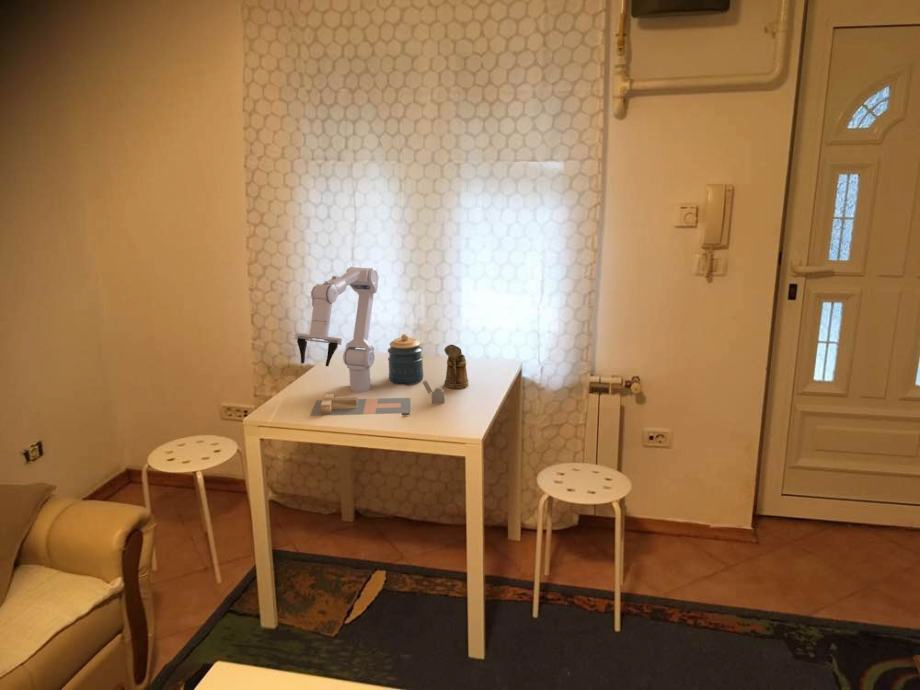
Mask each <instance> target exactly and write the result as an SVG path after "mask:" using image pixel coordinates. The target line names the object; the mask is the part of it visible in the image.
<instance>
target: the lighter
mask: <svg viewBox="0 0 920 690" xmlns="http://www.w3.org/2000/svg"><path fill="white" fill-rule="evenodd" d="M422 385H423V386H424V389H425V390H426V391H427V393H428V394H431V404H433V405H436V404H445V389H442V387H435V388H434V389H432V388H431V386H430V384H429V383H428V381H427V380H424V381H422Z"/></svg>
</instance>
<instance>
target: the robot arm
mask: <svg viewBox="0 0 920 690" xmlns="http://www.w3.org/2000/svg"><path fill="white" fill-rule="evenodd" d="M379 278H380V277H379V273H378V272H377V269H376V268H375V267H371V268H370V267H369V268H368V267H354V266H349V268H346V272H345V273H343V275H341V276H338V275H333V276H331V279H329V280H326V281H324V283H322V284H319V283H317V284H316V285H314V286H313V287H312V290H311V291H310V297H311V307H312V313H311V322H310V328H309V334H308V333H298V332H294V340H296V342H297V346H298V350H299V353H300V364H302V365H303V364H304V365H305V361H306V351H307V345H308V342H313V343H314V342H315V343H316V342H317V343H323V344H327V356H326V361H325V367H329V365H330V363H331V359H332V358H333V355H334V354H335V352H336V350H337V349H338V345H339V346H341V345H342V340H343V339H342V338H341V337H333V336H329V330H330V323H331V314H332V307H333V304H334V303H335V302H336V300H337V298H338V297H339V296H340V295H341V294H343V293H345V291H346V290H347V287H348V286H349V287H350V288H351V289H352V290H353V291H354V292H355V293H357V295H358V300H357V309H356V316H355V323H354V329H353V330H354V331H353V339H351V340H350V341H349V342H347V343H346V344H345V350H344V352H343V355H342V361H343V363H344V365H345V366H346V368H347V369H348V371H349V387H350V391H351V392H356V393H363V392H367V391H371V387H372V386H374V384H373V383H371V371H370V370H371V369H370V368H371V367H372V366H373V365H374V363H375V347H374V346H373V344H371V342H370V341H369V340H368V339H369V332H370V326H371V320H372V319H371V318H372V309H373V303H374V296H375V294H376V293H377V291H378V286H379ZM316 339H317V340H316Z"/></svg>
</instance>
